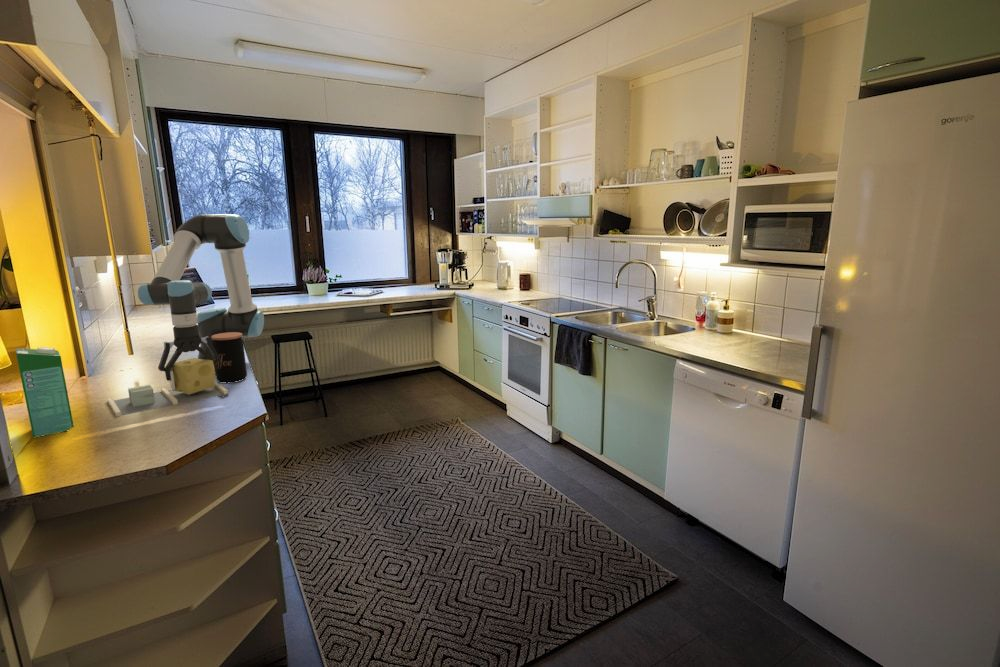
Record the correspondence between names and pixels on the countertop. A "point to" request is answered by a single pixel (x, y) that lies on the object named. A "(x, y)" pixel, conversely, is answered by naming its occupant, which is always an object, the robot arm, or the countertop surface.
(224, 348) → the coffee jar
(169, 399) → the slot board
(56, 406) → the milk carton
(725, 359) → the countertop surface
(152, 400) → the sage block
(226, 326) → the robot arm
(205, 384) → the cheese
